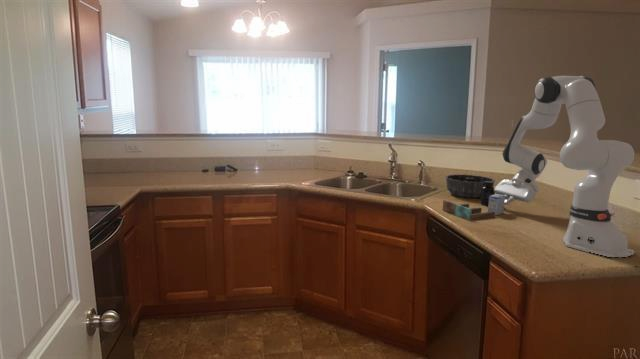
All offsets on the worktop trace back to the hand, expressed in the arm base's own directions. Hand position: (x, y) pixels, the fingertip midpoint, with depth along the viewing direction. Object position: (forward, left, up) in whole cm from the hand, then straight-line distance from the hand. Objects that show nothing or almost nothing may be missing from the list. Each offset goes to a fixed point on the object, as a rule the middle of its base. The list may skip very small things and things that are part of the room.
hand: (504, 203), depth 203 cm
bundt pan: (+37, -12, -5) cm, 39 cm away
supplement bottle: (+15, -4, -4) cm, 16 cm away
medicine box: (0, +5, -4) cm, 7 cm away
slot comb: (+4, +18, -4) cm, 19 cm away
